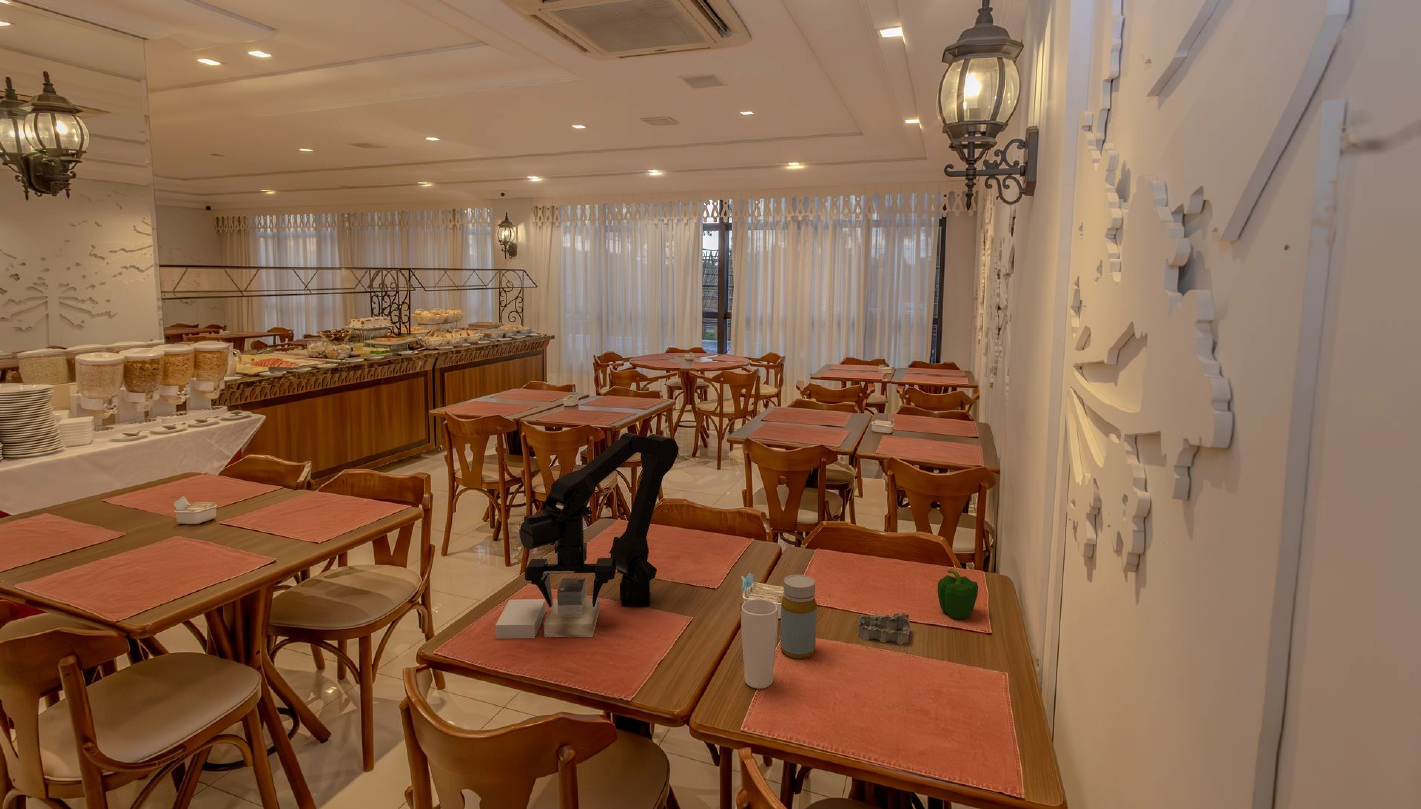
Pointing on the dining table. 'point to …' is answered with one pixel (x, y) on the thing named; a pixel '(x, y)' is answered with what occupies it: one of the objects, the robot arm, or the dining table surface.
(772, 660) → the drinking glass
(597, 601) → the stand
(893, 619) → the egg carton
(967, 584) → the bell pepper
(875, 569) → the dining table surface
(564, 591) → the housing
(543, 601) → the stand
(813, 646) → the bottle
